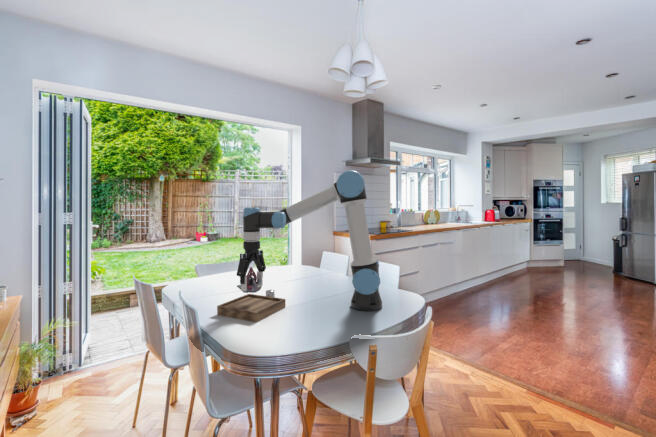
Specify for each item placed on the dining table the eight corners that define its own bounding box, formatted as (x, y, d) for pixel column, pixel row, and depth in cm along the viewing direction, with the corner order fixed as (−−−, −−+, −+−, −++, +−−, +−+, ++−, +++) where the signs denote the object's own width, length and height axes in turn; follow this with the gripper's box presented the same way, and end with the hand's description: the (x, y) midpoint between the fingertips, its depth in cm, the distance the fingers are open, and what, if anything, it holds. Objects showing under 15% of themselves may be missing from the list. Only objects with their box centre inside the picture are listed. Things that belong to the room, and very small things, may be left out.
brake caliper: (259, 289, 143) (244, 267, 145) (241, 302, 146) (226, 281, 147) (269, 283, 155) (255, 263, 156) (252, 296, 157) (238, 275, 158)
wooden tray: (285, 307, 156) (285, 299, 156) (256, 322, 136) (256, 312, 136) (249, 301, 165) (248, 293, 165) (217, 314, 145) (217, 305, 145)
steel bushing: (276, 299, 168) (275, 289, 168) (272, 301, 164) (271, 292, 164) (268, 299, 170) (268, 289, 169) (264, 301, 165) (264, 291, 165)
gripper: (260, 238, 161) (260, 281, 162) (227, 243, 140) (228, 293, 141) (273, 238, 158) (273, 283, 159) (241, 243, 137) (241, 295, 138)
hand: (252, 287), depth 150 cm, fingers closed on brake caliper, 11 cm apart
